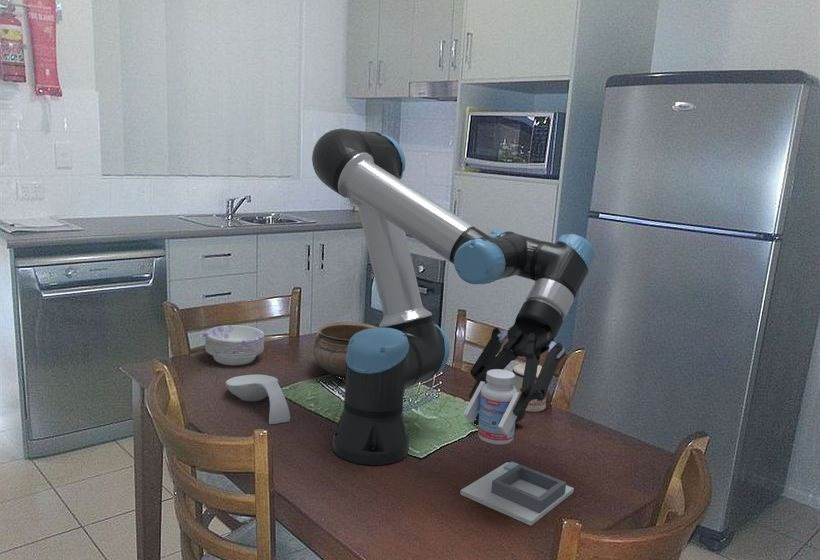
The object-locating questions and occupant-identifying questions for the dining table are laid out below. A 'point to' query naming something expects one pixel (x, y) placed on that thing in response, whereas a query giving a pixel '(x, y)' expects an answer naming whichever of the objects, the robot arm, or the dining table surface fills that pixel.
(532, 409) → the teacup with lid
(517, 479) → the panel
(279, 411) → the spoon rest
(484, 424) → the pill bottle
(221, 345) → the paper bowls
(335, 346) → the cooking pot
